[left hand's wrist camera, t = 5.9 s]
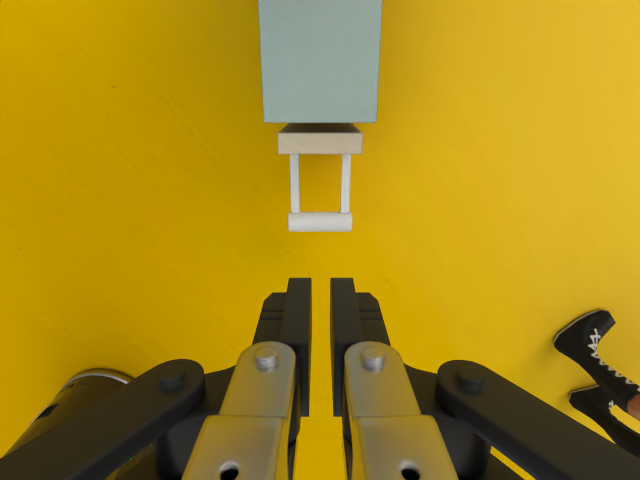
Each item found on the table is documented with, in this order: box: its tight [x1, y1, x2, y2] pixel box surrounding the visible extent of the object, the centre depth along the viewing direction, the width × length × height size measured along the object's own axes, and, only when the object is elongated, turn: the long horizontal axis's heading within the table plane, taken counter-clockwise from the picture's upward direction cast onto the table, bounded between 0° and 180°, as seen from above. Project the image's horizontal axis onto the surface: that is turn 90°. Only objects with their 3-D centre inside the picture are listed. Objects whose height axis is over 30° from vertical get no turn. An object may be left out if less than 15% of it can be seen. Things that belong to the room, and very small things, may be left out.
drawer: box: [277, 123, 363, 232], centre depth 24 cm, size 23×5×9 cm, turn 0°
